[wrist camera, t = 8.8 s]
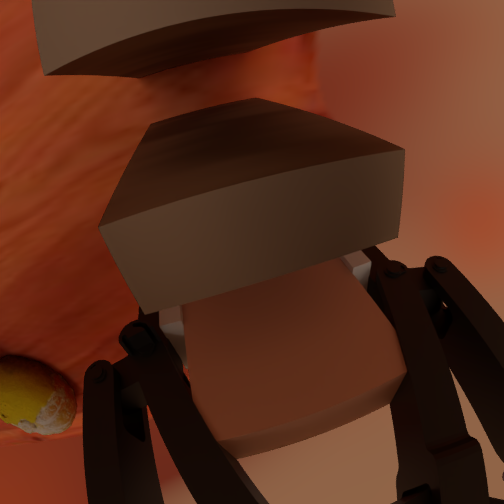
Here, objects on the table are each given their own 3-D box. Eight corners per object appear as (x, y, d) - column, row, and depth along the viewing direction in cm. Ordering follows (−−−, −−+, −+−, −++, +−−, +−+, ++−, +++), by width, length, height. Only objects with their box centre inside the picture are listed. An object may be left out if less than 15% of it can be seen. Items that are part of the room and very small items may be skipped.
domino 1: (138, 78, 12) (44, 75, 3) (130, 43, 11) (30, -28, 2) (247, 52, 13) (395, 16, 3) (240, 17, 12) (372, -71, 2)
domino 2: (161, 159, 15) (145, 314, 6) (150, 123, 14) (98, 227, 4) (262, 133, 16) (397, 237, 6) (256, 97, 15) (405, 149, 5)
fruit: (20, 402, 24) (2, 444, 17) (-8, 336, 22) (-38, 376, 14) (91, 413, 27) (83, 463, 20) (70, 346, 25) (48, 396, 17)
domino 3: (187, 249, 17) (223, 462, 7) (176, 217, 16) (199, 444, 6) (285, 222, 17) (400, 397, 8) (281, 188, 16) (419, 364, 6)
